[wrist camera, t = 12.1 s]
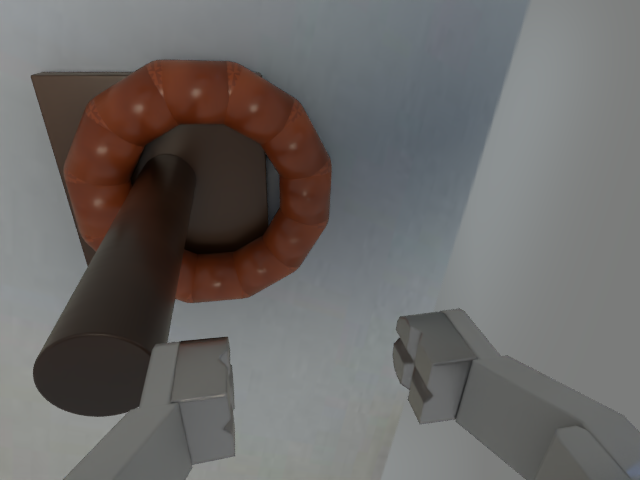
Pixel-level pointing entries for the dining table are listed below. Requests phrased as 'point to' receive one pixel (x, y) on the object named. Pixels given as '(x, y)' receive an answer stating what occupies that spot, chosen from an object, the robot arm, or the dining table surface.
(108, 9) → the dining table surface
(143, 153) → the post
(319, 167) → the ring
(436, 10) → the dining table surface
